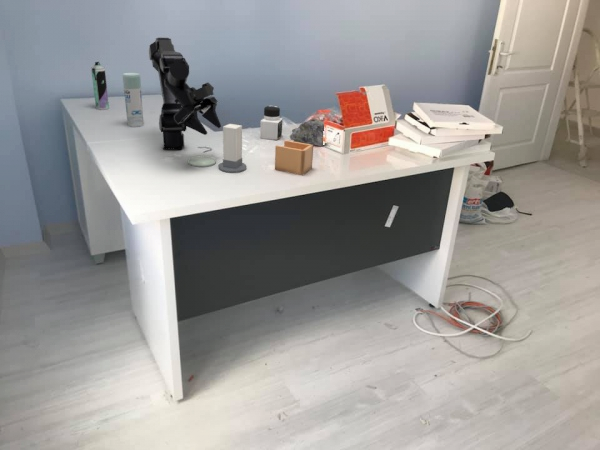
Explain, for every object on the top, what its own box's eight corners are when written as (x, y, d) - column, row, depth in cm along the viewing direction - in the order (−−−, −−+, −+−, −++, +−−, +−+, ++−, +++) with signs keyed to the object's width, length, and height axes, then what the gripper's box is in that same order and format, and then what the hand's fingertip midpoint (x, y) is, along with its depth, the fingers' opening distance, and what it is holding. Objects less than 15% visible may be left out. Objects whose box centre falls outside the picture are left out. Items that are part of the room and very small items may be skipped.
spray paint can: (146, 126, 201) (142, 75, 192) (130, 127, 197) (125, 75, 189) (141, 122, 206) (136, 72, 197) (125, 123, 202) (120, 73, 194)
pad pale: (187, 166, 161) (187, 164, 160) (189, 157, 169) (189, 155, 168) (215, 167, 162) (215, 164, 161) (216, 158, 170) (216, 156, 169)
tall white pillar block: (223, 166, 160) (222, 126, 155) (229, 162, 164) (229, 123, 159) (235, 168, 159) (235, 128, 153) (242, 164, 163) (242, 125, 157)
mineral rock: (287, 142, 192) (289, 116, 188) (305, 137, 200) (306, 112, 196) (314, 150, 185) (316, 123, 181) (331, 144, 193) (333, 118, 188)
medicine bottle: (277, 140, 193) (278, 109, 188) (259, 138, 194) (260, 107, 189) (281, 135, 200) (283, 105, 194) (264, 133, 201) (265, 104, 195)
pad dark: (218, 172, 157) (218, 170, 157) (218, 163, 165) (218, 160, 165) (246, 172, 159) (246, 170, 158) (246, 163, 167) (246, 161, 166)
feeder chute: (311, 168, 166) (313, 144, 163) (302, 175, 160) (304, 151, 156) (284, 162, 170) (285, 140, 166) (274, 169, 163) (275, 146, 159)
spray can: (106, 110, 221) (101, 63, 212) (94, 109, 221) (88, 62, 212) (110, 107, 226) (105, 61, 217) (98, 106, 226) (93, 60, 217)
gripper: (180, 79, 146) (215, 122, 147) (211, 71, 161) (242, 109, 163) (159, 103, 151) (192, 143, 153) (191, 92, 167) (220, 129, 169)
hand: (213, 130), depth 159 cm, fingers open, 9 cm apart
